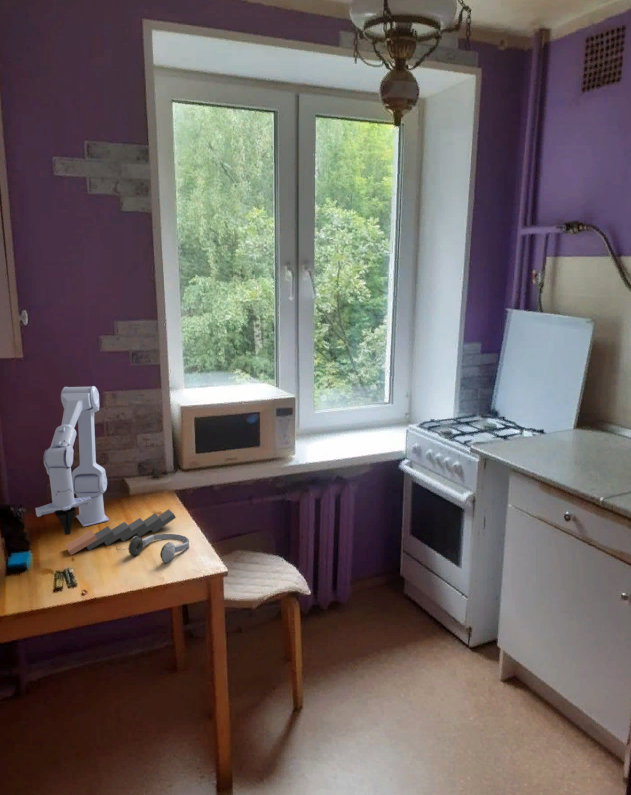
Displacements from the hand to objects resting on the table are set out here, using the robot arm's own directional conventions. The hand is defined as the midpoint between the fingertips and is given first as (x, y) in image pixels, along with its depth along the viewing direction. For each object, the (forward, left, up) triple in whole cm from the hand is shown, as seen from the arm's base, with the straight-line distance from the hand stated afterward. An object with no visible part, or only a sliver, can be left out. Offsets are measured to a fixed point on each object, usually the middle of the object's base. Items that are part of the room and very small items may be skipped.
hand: (67, 533), depth 173 cm
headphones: (+14, +20, -6) cm, 26 cm away
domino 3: (0, +10, -5) cm, 11 cm away
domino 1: (0, 0, -5) cm, 5 cm away
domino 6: (0, +24, -5) cm, 24 cm away
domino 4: (0, +14, -5) cm, 15 cm away
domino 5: (0, +19, -5) cm, 20 cm away
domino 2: (0, +5, -5) cm, 7 cm away
